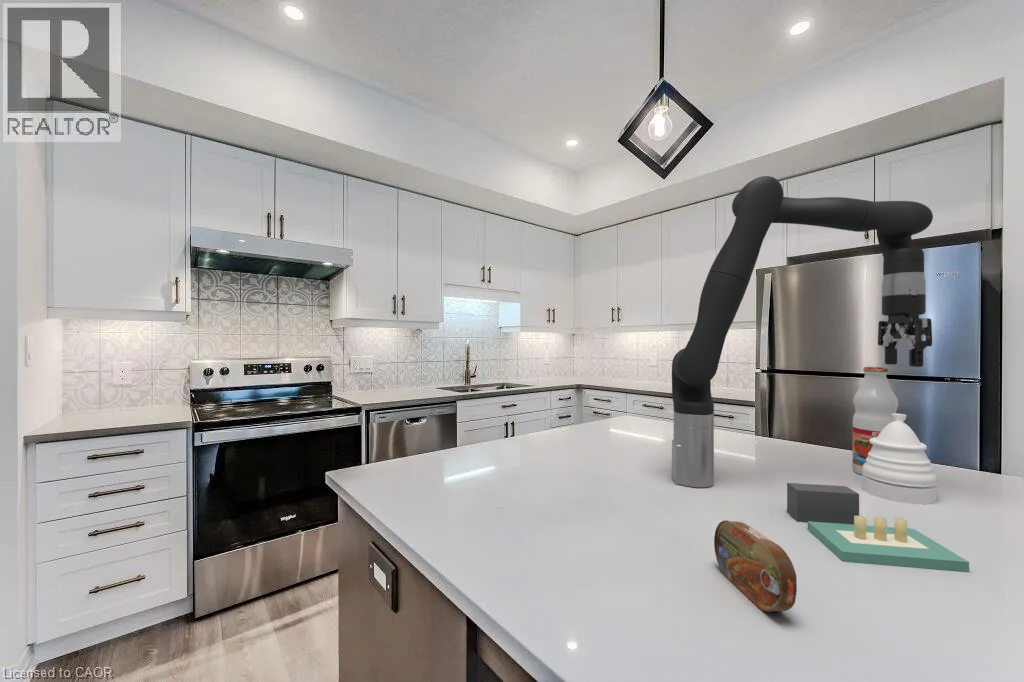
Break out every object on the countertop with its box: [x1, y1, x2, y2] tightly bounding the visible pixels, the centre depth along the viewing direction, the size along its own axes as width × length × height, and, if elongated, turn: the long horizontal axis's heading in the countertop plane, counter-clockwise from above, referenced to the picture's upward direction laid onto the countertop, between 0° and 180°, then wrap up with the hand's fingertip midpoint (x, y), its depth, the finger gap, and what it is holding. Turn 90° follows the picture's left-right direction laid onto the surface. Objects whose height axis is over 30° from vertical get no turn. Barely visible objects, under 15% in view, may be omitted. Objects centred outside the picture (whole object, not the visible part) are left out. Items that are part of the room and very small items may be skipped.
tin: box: [713, 520, 798, 613], centre depth 62 cm, size 15×3×8 cm, turn 5°
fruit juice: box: [852, 366, 899, 476], centre depth 116 cm, size 9×9×28 cm
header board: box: [807, 515, 970, 573], centre depth 75 cm, size 17×12×5 cm
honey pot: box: [861, 412, 938, 506], centre depth 101 cm, size 13×13×18 cm
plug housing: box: [786, 482, 860, 525], centre depth 87 cm, size 11×5×6 cm, turn 79°
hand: (903, 365), depth 101 cm, fingers open, 8 cm apart
